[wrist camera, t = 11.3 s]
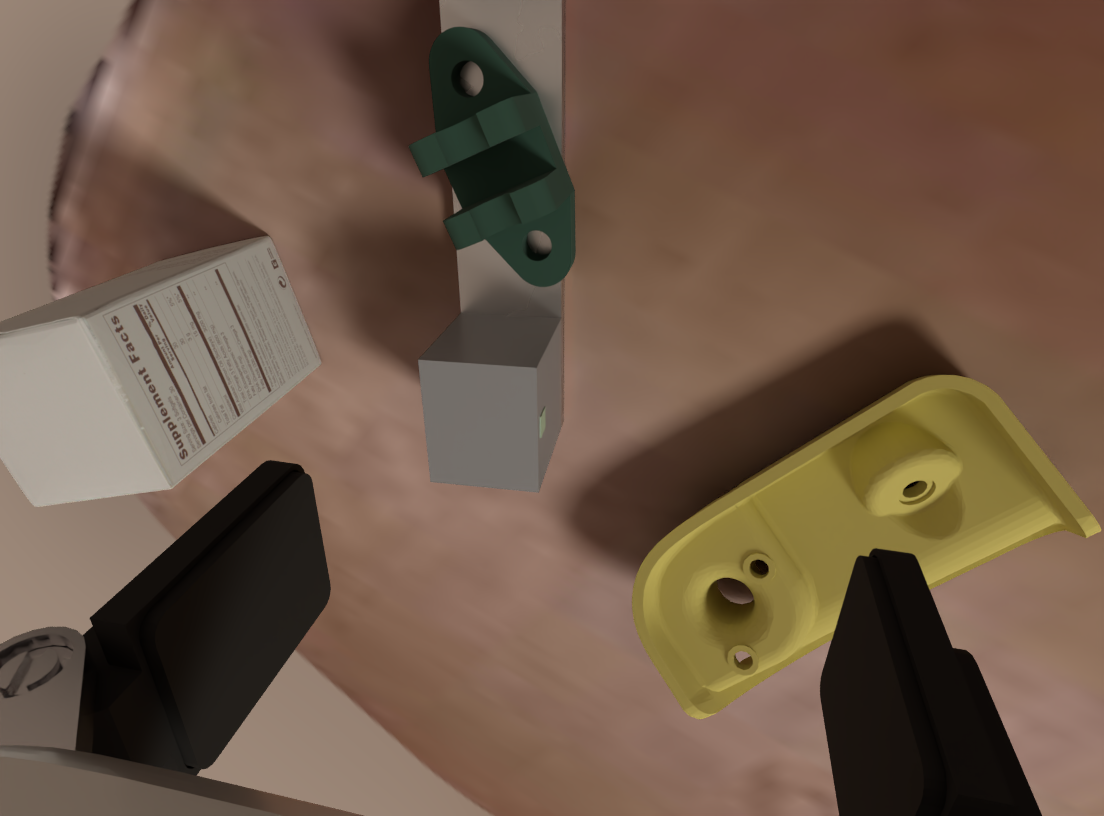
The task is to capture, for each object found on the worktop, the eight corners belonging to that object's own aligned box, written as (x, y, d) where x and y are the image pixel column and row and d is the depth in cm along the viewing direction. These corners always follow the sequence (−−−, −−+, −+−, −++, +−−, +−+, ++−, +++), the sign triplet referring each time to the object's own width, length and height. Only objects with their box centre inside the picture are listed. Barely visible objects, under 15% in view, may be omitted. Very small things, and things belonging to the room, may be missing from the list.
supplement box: (216, 384, 39) (26, 512, 28) (156, 258, 36) (-83, 345, 25) (328, 365, 37) (173, 495, 26) (274, 231, 34) (73, 312, 23)
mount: (601, 261, 31) (587, 294, 26) (514, 293, 32) (487, 329, 28) (504, 5, 27) (468, -6, 22) (410, 55, 28) (359, 53, 24)
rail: (566, -226, 24) (562, -234, 23) (563, 421, 36) (561, 428, 35) (431, -216, 25) (423, -224, 24) (472, 413, 36) (468, 420, 36)
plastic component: (964, 351, 28) (1126, 558, 26) (939, 355, 35) (1067, 520, 33) (597, 572, 35) (706, 749, 33) (636, 540, 42) (728, 685, 40)
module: (562, 318, 32) (537, 367, 27) (561, 428, 35) (539, 492, 30) (459, 312, 33) (416, 359, 28) (467, 420, 36) (429, 481, 31)
